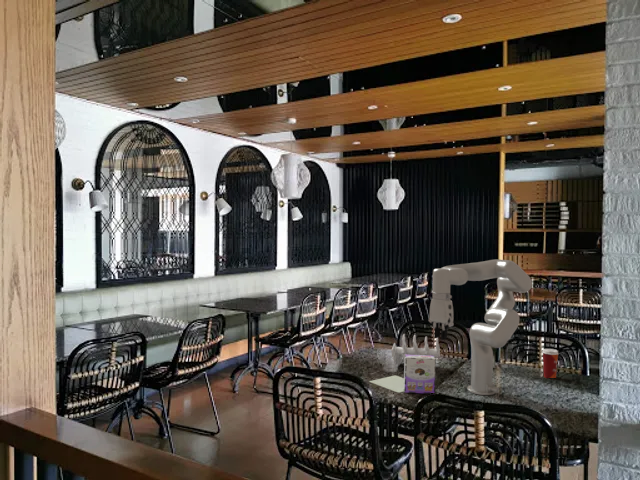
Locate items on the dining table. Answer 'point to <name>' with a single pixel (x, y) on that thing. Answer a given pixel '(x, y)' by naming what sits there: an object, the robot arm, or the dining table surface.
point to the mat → (391, 383)
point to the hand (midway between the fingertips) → (440, 337)
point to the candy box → (419, 374)
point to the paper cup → (550, 362)
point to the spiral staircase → (413, 350)
